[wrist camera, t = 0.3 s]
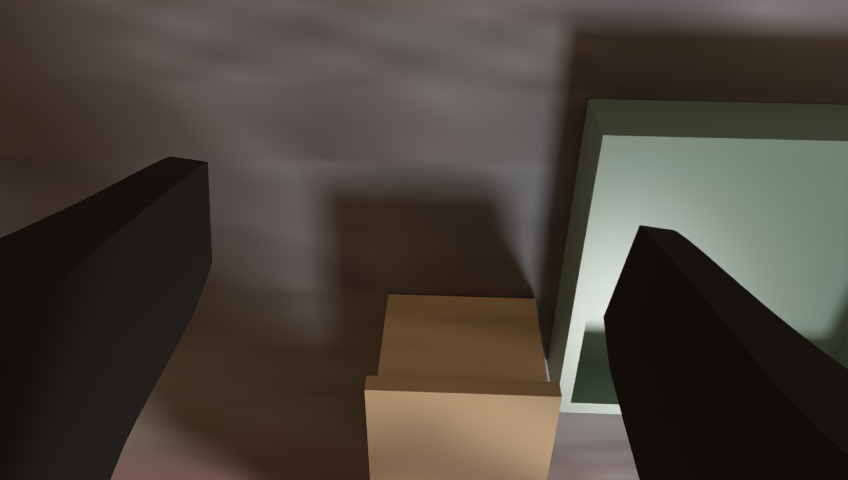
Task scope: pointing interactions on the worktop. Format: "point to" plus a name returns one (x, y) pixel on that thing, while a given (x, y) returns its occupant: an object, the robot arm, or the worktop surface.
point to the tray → (705, 218)
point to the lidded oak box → (461, 391)
